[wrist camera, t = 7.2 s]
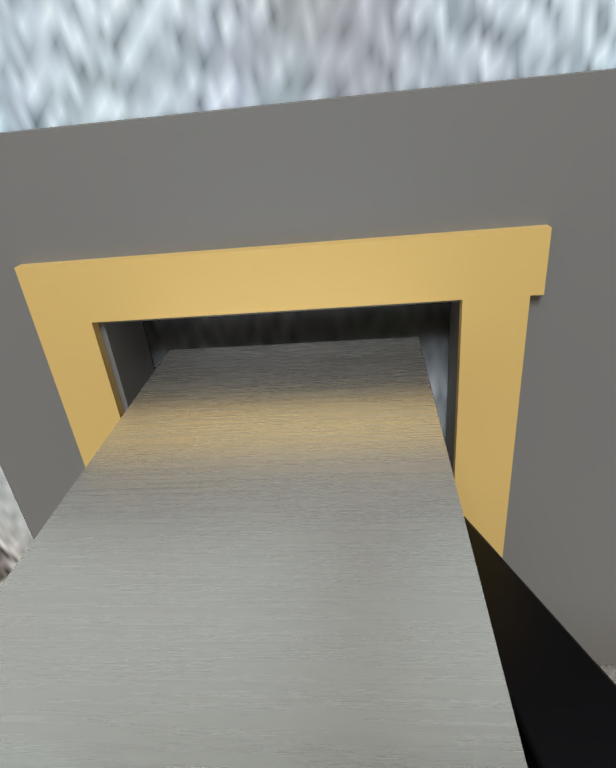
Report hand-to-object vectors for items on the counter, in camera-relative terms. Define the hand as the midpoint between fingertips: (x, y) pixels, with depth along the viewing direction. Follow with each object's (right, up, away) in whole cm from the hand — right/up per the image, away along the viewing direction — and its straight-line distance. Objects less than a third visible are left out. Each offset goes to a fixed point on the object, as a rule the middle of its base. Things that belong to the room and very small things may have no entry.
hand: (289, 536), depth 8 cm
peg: (0, +1, +2) cm, 2 cm away
